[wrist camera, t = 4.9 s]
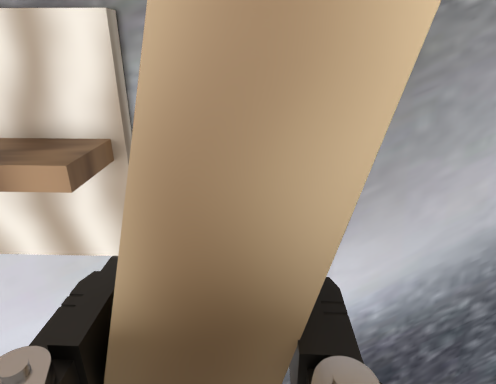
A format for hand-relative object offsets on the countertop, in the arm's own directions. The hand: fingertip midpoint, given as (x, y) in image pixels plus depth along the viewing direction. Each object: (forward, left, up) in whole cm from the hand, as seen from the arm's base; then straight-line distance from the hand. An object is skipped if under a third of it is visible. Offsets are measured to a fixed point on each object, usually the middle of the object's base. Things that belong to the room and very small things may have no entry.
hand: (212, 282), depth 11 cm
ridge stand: (+14, 0, -16) cm, 21 cm away
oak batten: (0, 0, -1) cm, 1 cm away
